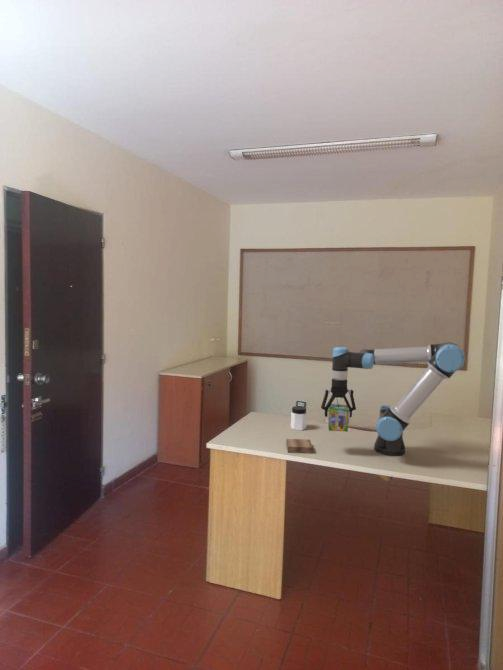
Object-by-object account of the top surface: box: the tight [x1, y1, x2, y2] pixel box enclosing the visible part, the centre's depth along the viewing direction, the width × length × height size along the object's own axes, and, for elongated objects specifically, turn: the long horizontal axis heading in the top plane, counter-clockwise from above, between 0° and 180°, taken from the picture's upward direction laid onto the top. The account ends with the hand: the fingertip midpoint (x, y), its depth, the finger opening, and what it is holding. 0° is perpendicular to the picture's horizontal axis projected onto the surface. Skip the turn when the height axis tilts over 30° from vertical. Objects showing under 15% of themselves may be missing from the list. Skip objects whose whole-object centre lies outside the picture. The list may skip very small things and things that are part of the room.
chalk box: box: [327, 400, 349, 433], centre depth 227 cm, size 9×9×15 cm
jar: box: [290, 405, 308, 431], centre depth 265 cm, size 9×8×12 cm
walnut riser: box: [285, 438, 314, 454], centre depth 231 cm, size 12×12×3 cm
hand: (337, 423), depth 227 cm, fingers closed on chalk box, 9 cm apart
